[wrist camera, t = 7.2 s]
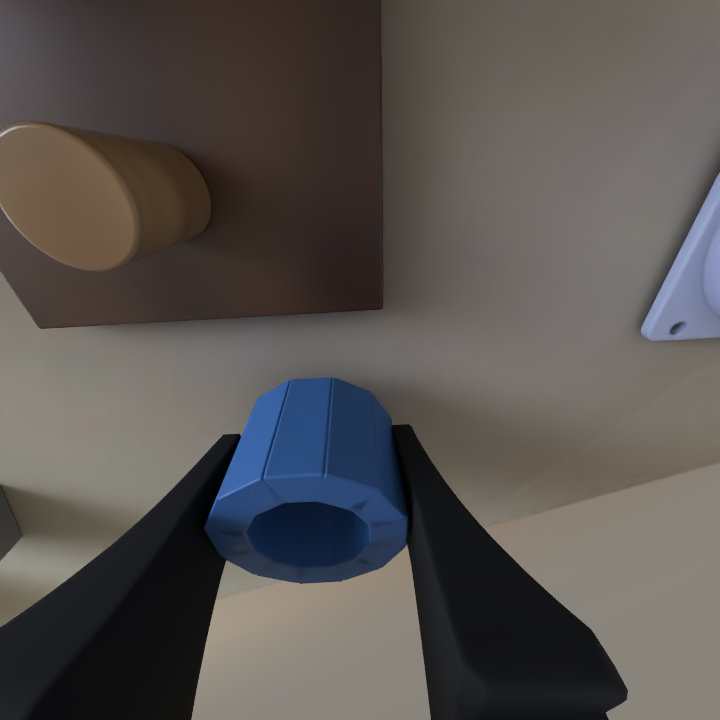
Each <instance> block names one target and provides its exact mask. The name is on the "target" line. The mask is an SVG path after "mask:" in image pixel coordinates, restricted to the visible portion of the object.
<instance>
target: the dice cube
mask: <svg viewBox="0 0 720 720" xmlns="http://www.w3.org/2000/svg"><path fill="white" fill-rule="evenodd" d="M21 537H22V535H21V532H20V530H19V528H18V526H17V523H16V521H15V519H14V516H13V514H12V512H11V510H10V507H9V505H8V503H7V500H6V498H5V496H4V494H3V491H2V489H1V487H0V561H1V560H2V558H3V557H4V556H5V555H6V554H7V553H8V552H9V551H10V550H11V549H12V547H13V546H14V545H15V544H16V543H17V542H18V541H19V540H20V539H21Z"/></svg>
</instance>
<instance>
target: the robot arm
mask: <svg viewBox="0 0 720 720" xmlns="http://www.w3.org/2000/svg"><path fill="white" fill-rule="evenodd" d="M641 334H642V335H643V336H644V337H646V338H647V339H649V340H651V341H672V340H689V339H707V338H720V172H719V174H718V176H717V178H716V180H715V182H714V184H713V186H712V188H711V190H710V192H709V193H708V195H707V197H706V199H705V201H704V203H703V205H702V207H701V209H700V211H699V213H698V215H697V217H696V219H695V221H694V223H693V225H692V227H691V229H690V231H689V233H688V235H687V237H686V239H685V241H684V243H683V245H682V247H681V249H680V251H679V253H678V255H677V257H676V259H675V261H674V263H673V265H672V267H671V269H670V271H669V273H668V275H667V277H666V279H665V281H664V283H663V285H662V287H661V289H660V291H659V293H658V295H657V297H656V299H655V301H654V303H653V305H652V307H651V309H650V311H649V313H648V315H647V317H646V319H645V321H644V323H643V325H642V328H641ZM392 430H393V436H394V442H395V448H396V454H397V458H398V462H399V466H400V472H401V478H402V484H403V490H404V496H405V501H406V507H407V513H408V531H407V545H408V550H409V555H410V561H411V566H412V573H413V580H414V588H415V594H416V602H417V610H418V617H419V625H420V633H421V640H422V649H423V657H424V664H425V673H426V681H427V689H428V698H429V706H430V714H431V720H609V719H608V717H607V715H606V713H605V712H607V711H609V710H611V709H612V708H614V707H616V706H618V705H620V704H621V703H623V702H624V701H625V700H627V693H628V690H627V688H626V686H625V684H624V682H623V680H622V679H621V677H620V675H619V673H618V671H617V669H616V668H615V666H614V664H613V663H612V661H611V659H610V658H609V656H608V655H607V653H606V651H605V650H604V648H603V647H602V645H601V644H600V642H599V641H598V639H597V638H596V636H595V634H594V633H593V632H592V630H591V629H590V628H589V627H587V626H586V625H585V624H584V623H583V622H582V621H580V620H579V619H578V618H577V617H576V616H575V615H573V614H572V613H571V612H570V611H569V610H568V609H566V608H565V607H564V606H563V605H562V604H561V603H559V602H558V601H557V600H556V599H555V598H554V597H553V596H552V595H551V594H549V593H548V592H547V591H546V590H545V589H544V588H543V587H542V586H541V585H540V584H538V582H536V581H535V580H534V579H533V578H532V577H531V576H530V575H529V574H528V573H527V572H526V571H524V570H523V569H522V567H521V566H520V565H519V564H518V563H516V561H515V560H514V559H513V558H512V557H511V556H509V554H508V553H507V552H506V551H505V550H504V549H503V548H501V546H500V545H499V544H498V543H497V542H496V541H495V540H494V539H493V538H492V537H491V536H490V535H489V534H488V533H487V532H486V530H485V529H484V528H483V527H482V526H481V525H480V524H479V523H478V522H477V520H476V519H475V518H474V517H473V516H472V515H471V513H470V512H469V511H468V510H467V509H466V508H465V506H464V505H463V504H462V503H461V501H460V500H459V499H458V498H457V496H456V495H455V494H454V492H453V491H452V490H451V488H450V487H449V486H448V484H447V483H446V482H445V480H444V479H443V478H442V476H441V475H440V473H439V472H438V470H437V469H436V467H435V466H434V464H433V463H432V461H431V460H430V458H429V457H428V455H427V454H426V452H425V450H424V449H423V447H422V445H421V443H420V442H419V440H418V438H417V436H416V434H415V432H414V430H413V428H412V426H410V425H409V424H404V425H392ZM240 439H241V436H240V434H228V435H223V436H222V437H221V438H220V439H219V440H218V441H217V442H216V443H215V444H214V445H213V446H212V447H211V449H210V450H209V451H208V452H207V453H206V454H205V455H204V456H203V457H202V458H201V459H200V460H199V462H198V463H197V464H196V465H195V466H194V467H193V468H192V469H191V470H190V471H189V472H188V473H187V474H186V475H185V476H184V477H183V479H182V480H181V481H180V482H179V483H178V484H177V485H176V486H175V487H174V488H173V489H172V490H171V491H170V492H169V493H168V494H167V495H166V496H165V497H164V498H163V499H162V500H161V501H160V502H159V503H158V504H157V505H156V506H155V507H154V508H153V509H151V510H150V511H149V512H148V513H147V514H146V515H145V516H144V517H143V518H142V519H141V520H140V521H139V522H137V523H136V524H135V525H134V526H133V527H132V528H131V529H130V530H128V531H127V532H126V533H125V534H124V535H123V536H121V537H120V538H119V539H118V540H117V541H116V542H114V543H113V544H112V545H111V546H110V547H108V548H107V549H106V550H105V551H103V552H102V553H101V554H100V555H98V556H97V557H96V558H95V559H93V560H92V561H91V562H90V563H88V564H87V565H86V566H84V567H83V568H82V569H81V570H79V571H78V572H77V573H76V574H74V575H73V576H72V577H70V578H69V579H68V580H67V581H65V582H64V583H62V584H61V585H60V586H58V587H57V588H56V589H54V590H53V591H52V592H50V593H49V594H48V595H46V596H45V597H43V598H42V599H41V600H39V601H38V602H36V603H35V604H34V605H32V606H31V607H29V608H28V609H26V610H25V611H24V612H22V613H21V614H19V615H18V616H17V617H15V618H14V619H12V620H11V621H9V622H8V623H6V624H5V625H3V626H2V627H0V720H191V717H192V712H193V706H194V700H195V695H196V688H197V684H198V679H199V673H200V669H201V664H202V659H203V654H204V649H205V644H206V639H207V635H208V630H209V626H210V621H211V617H212V613H213V608H214V604H215V600H216V596H217V592H218V588H219V584H220V580H221V576H222V573H223V569H224V566H225V563H226V559H224V558H222V556H220V555H219V554H218V552H217V550H216V549H215V547H214V545H213V544H212V542H211V540H210V539H209V537H208V535H207V534H206V532H205V530H204V526H205V523H206V521H207V519H208V516H209V514H210V511H211V509H212V507H213V504H214V502H215V499H216V497H217V494H218V492H219V490H220V487H221V485H222V482H223V480H224V477H225V475H226V473H227V470H228V468H229V465H230V463H231V461H232V458H233V456H234V453H235V451H236V448H237V446H238V444H239V441H240Z"/></svg>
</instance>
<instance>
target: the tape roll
mask: <svg viewBox="0 0 720 720" xmlns="http://www.w3.org/2000/svg"><path fill="white" fill-rule="evenodd" d="M204 530H205V532H206V534H207V535H208V537H209V539H210V540H211V542H212V544H213V545H214V547H215V549H216V550H217V552H218V554H219V555H220V556H222V558H224V559H226V560H228V561H230V562H231V563H233V564H235V565H237V566H239V567H241V568H243V569H245V570H247V571H249V572H250V573H252V574H257V575H258V576H262V577H268V578H273V579H278V580H284V581H289V582H295V583H300V584H302V583H320V582H337V581H343V580H347V579H350V578H353V577H356V576H359V575H362V574H365V573H368V572H371V571H374V570H377V569H379V568H382V567H383V566H385V565H386V564H387V563H388V562H389V561H390V560H391V559H392V558H394V557H395V556H396V555H397V554H398V553H399V552H400V551H401V550H403V549H404V548H405V546H406V544H407V531H408V513H407V507H406V501H405V496H404V490H403V484H402V478H401V472H400V466H399V462H398V458H397V454H396V448H395V442H394V436H393V430H392V419H391V418H390V416H389V415H388V413H387V412H386V411H385V410H384V408H383V407H382V406H381V405H380V403H379V402H378V401H377V400H376V398H375V397H374V396H373V395H372V394H371V393H370V392H369V391H367V390H365V389H362V388H360V387H357V386H355V385H352V384H349V383H347V382H344V381H342V380H339V379H337V378H333V379H332V378H313V379H296V380H291V381H290V380H288V381H287V382H285V383H283V384H281V385H280V386H278V387H276V388H275V389H273V390H271V391H269V392H268V393H266V394H264V395H263V396H261V397H259V398H258V399H257V401H256V403H255V405H254V408H253V410H252V412H251V415H250V417H249V420H248V422H247V424H246V427H245V429H244V432H243V434H242V436H241V439H240V441H239V444H238V446H237V448H236V451H235V453H234V456H233V458H232V461H231V463H230V465H229V468H228V470H227V473H226V475H225V477H224V480H223V482H222V485H221V487H220V490H219V492H218V494H217V497H216V499H215V502H214V504H213V507H212V509H211V511H210V514H209V516H208V519H207V521H206V523H205V526H204Z"/></svg>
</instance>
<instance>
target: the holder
mask: <svg viewBox="0 0 720 720" xmlns="http://www.w3.org/2000/svg"><path fill="white" fill-rule="evenodd" d="M0 272H1V274H2V275H3V277H4V278H5V280H6V281H7V282H8V284H9V285H10V287H11V288H12V290H13V291H14V293H15V294H16V295H17V297H18V298H19V300H20V301H21V303H22V304H23V306H24V307H25V308H26V310H27V311H28V313H29V314H30V316H31V317H32V319H33V320H34V322H35V323H36V324H37V326H38V327H39V328H41V329H46V328H64V327H81V326H99V325H117V324H134V323H152V322H169V321H187V320H205V319H222V318H240V317H257V316H275V315H293V314H310V313H328V312H345V311H363V310H381V309H383V193H382V61H381V0H0Z"/></svg>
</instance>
